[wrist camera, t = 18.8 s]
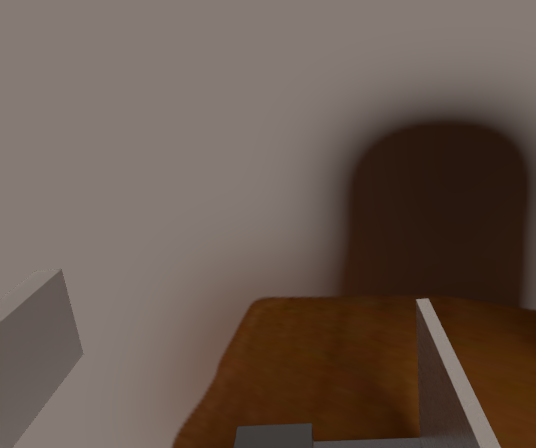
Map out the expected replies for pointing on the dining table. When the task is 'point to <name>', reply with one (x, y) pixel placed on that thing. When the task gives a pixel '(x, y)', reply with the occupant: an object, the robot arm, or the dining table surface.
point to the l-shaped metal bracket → (437, 397)
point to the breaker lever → (275, 436)
